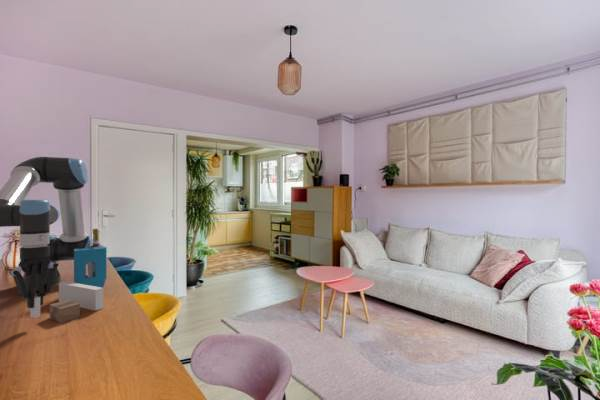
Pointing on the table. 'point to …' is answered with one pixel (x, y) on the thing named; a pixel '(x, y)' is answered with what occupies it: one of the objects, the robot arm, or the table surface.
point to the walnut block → (64, 311)
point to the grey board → (82, 295)
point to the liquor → (95, 244)
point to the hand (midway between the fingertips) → (35, 316)
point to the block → (83, 258)
